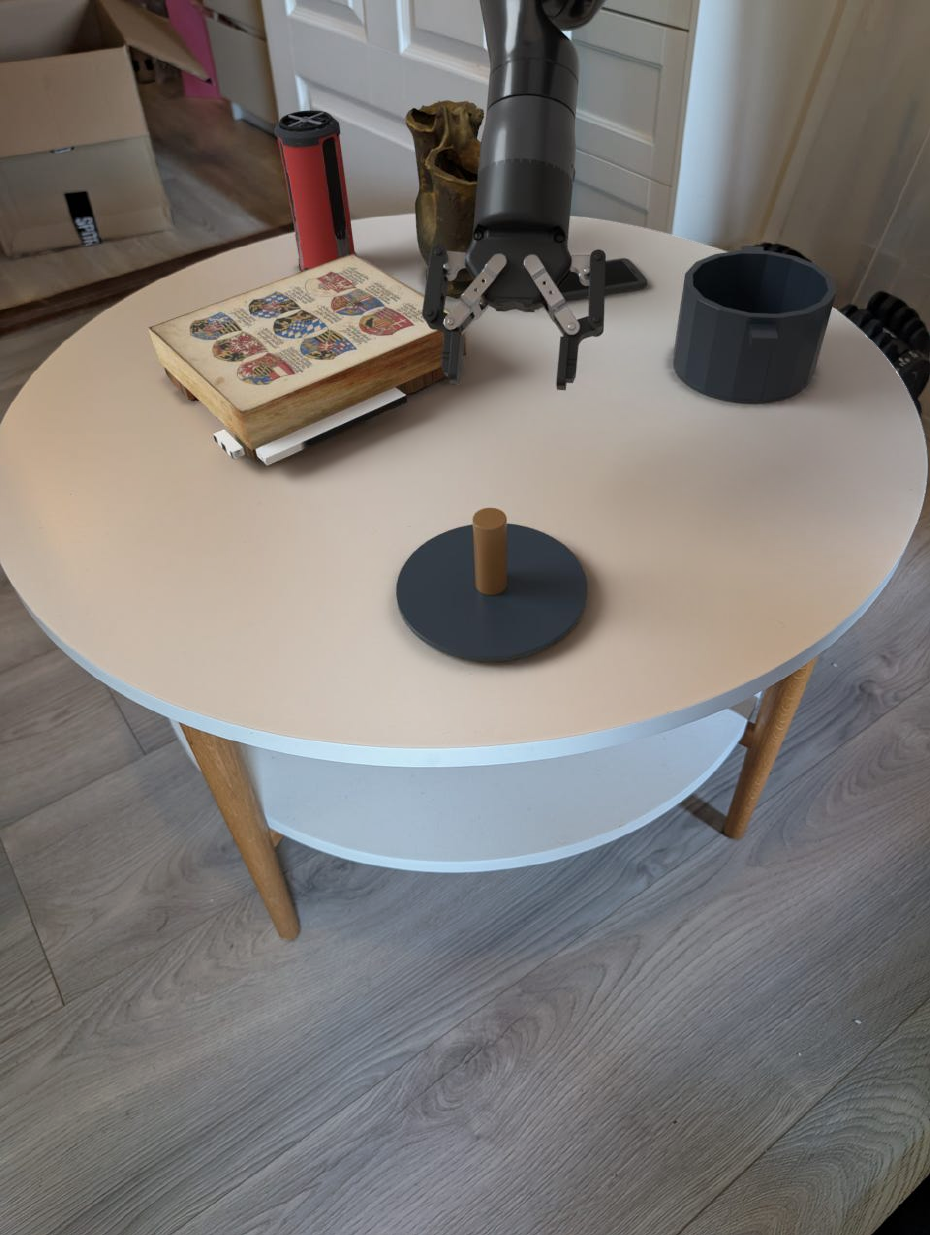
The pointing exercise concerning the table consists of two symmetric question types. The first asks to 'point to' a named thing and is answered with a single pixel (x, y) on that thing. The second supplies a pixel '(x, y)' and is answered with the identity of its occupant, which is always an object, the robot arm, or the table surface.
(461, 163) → the pottery vessel
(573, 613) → the lid
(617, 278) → the cell phone
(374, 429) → the table surface
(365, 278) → the book
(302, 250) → the speaker
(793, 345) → the pot
